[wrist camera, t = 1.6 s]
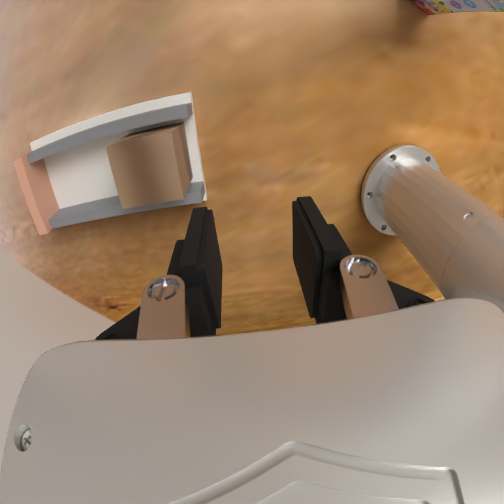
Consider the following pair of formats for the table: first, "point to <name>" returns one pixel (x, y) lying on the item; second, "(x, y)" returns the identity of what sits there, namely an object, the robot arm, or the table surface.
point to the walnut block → (151, 166)
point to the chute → (99, 164)
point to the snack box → (459, 6)
